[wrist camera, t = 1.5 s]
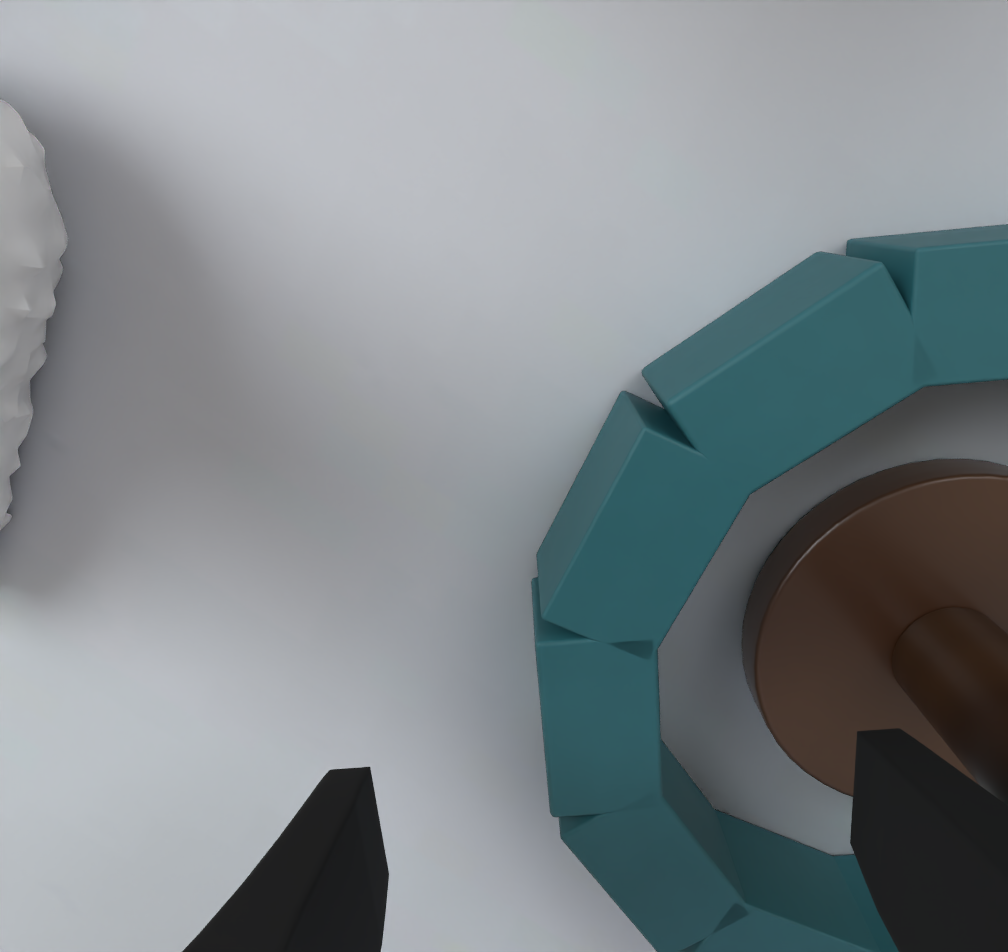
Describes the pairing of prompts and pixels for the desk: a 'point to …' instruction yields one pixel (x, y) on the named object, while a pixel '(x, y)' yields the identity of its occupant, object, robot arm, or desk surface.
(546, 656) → the hoop
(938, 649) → the hanging post
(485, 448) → the desk surface
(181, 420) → the desk surface
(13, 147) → the white creature statuette
